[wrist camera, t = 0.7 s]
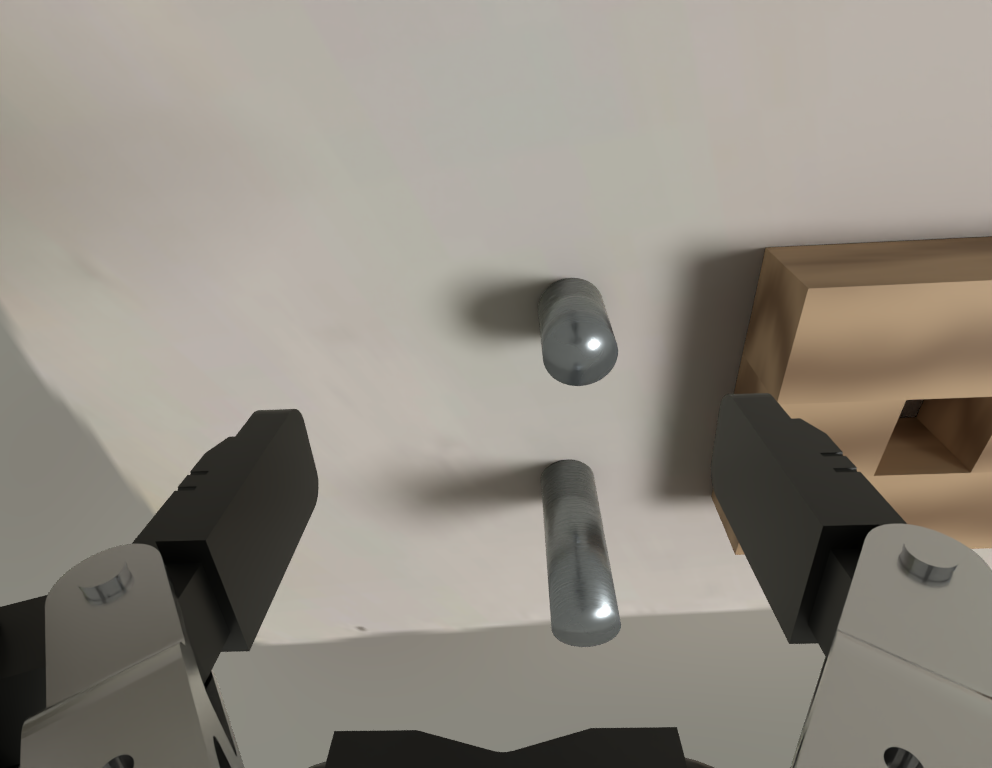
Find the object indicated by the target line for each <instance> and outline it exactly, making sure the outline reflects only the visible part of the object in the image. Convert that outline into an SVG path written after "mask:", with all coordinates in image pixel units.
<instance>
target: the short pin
mask: <svg viewBox="0 0 992 768" xmlns="http://www.w3.org/2000/svg"><path fill="white" fill-rule="evenodd" d="M538 315H539V324H540V334H541V344H542V354H543V362H544V365H545V368H546V370H547V371H548V373H549V374H550V375H551V376H552V377H553V378H554V379H556V380H557V381H559V382H561V383H564V384H567V385H572V386H583V385H589V384H592V383H594V382H597V381H599V380H600V379H602V378H603V377H605V376H606V375H607V374H608V373H609V372H610V371H611V370H612V368H613V367H614V365H615V363H616V360H617V356H618V347H617V343H616V340H615V337H614V334H613V331H612V327H611V324H610V321H609V318H608V315H607V312H606V309H605V306H604V303H603V299H602V296H601V294H600V292H599V291H598V289H597V288H596V287H595V286H594V285H593V284H591V283H590V282H588V281H586V280H583V279H578V278H567V279H562V280H560V281H557V282H555V283H553V284H552V285H551V286H549V287H548V288H547V289H546V290H545V291H544V293H543V294H542V296H541V298H540V301H539V305H538Z"/></svg>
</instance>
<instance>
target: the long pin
mask: <svg viewBox="0 0 992 768" xmlns="http://www.w3.org/2000/svg"><path fill="white" fill-rule="evenodd" d="M541 488H542V502H543V516H544V530H545V543H546V557H547V571H548V585H549V599H550V612H551V626H552V632H553V634H554V636H555V637H556V638H557V639H558V640H560V641H561V642H563V643H565V644H568V645H572V646H578V647H590V646H596V645H600V644H603V643H606V642H608V641H610V640H611V639H613V638H614V637H615V636H616V635H617V634H618V632H619V631H620V628H621V622H620V617H619V611H618V606H617V601H616V595H615V590H614V584H613V579H612V573H611V568H610V562H609V557H608V551H607V546H606V541H605V535H604V530H603V524H602V519H601V513H600V508H599V502H598V497H597V492H596V486H595V481H594V475H593V472H592V470H591V469H590V468H589V467H588V466H587V465H586V464H584V463H582V462H579V461H575V460H563V461H558V462H556V463H553V464H551V465H550V466H549V467H547V468H546V469H545V471H544V472H543V474H542V477H541Z"/></svg>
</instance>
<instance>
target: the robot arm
mask: <svg viewBox="0 0 992 768" xmlns="http://www.w3.org/2000/svg"><path fill="white" fill-rule="evenodd" d="M190 472H191V474H190V475H187V476H186V478H185V479H184V480H183V481H182V483H181V484H180V485H179V486H178V491H174V492H173V494H172V495H171V496H170V497H169V499H168V500H167V501H166V502H165V503H164V505H163V506H162V507H161V508H160V510H159V511H158V512H157V513H156V515H155V516H154V517H153V518H152V520H151V521H150V522H149V523H148V524H147V526H146V527H145V528H144V529H143V531H142V532H141V533H140V534H139V535H138V537H137V538H136V539H135V540H134V542H133V543H132V544H126V545H120V546H116V547H113V548H109V549H107V550H104V551H101V552H99V553H97V554H95V555H92V556H90V557H89V558H87V559H85V560H83V561H81V562H80V563H79V564H77V565H75V566H74V567H72V568H71V569H70V570H69V571H67V572H66V573H65V574H64V575H63V576H62V577H61V578H60V579H59V580H58V581H57V582H56V584H54V586H53V587H52V588H51V590H50V592H49V593H48V595H45V596H42V597H38V598H34V599H30V600H26V601H22V602H18V603H14V604H10V605H7V606H2V607H0V768H245V767H244V764H243V761H242V758H241V755H240V751H239V748H238V745H237V742H236V739H235V735H234V732H233V729H232V726H231V723H230V720H229V716H228V713H227V711H226V707H225V704H224V700H223V698H222V694H221V691H220V688H219V685H218V681H217V679H216V677H215V674H214V672H213V670H212V668H213V666H214V664H215V662H216V660H217V658H218V656H219V654H220V652H231V651H250V648H251V646H252V644H253V642H254V640H255V638H256V635H257V633H258V631H259V629H260V627H261V624H262V622H263V620H264V618H265V616H266V613H267V611H268V609H269V607H270V605H271V602H272V600H273V598H274V596H275V594H276V591H277V589H278V587H279V585H280V583H281V580H282V578H283V576H284V574H285V572H286V569H287V567H288V565H289V563H290V561H291V558H292V556H293V554H294V552H295V550H296V547H297V545H298V543H299V541H300V539H301V536H302V534H303V532H304V530H305V528H306V525H307V523H308V521H309V519H310V517H311V514H312V512H313V510H314V508H315V505H316V502H317V497H318V475H317V471H316V467H315V463H314V459H313V455H312V451H311V447H310V443H309V439H308V435H307V431H306V427H305V423H304V420H303V417H302V415H301V413H300V412H299V411H298V410H297V409H283V410H258V411H256V412H254V413H253V414H252V416H251V417H250V418H249V419H248V421H247V422H246V423H245V425H244V426H243V427H242V429H241V430H240V431H239V432H238V434H237V435H236V436H235V437H228V438H227V439H225V440H224V441H222V442H221V443H219V444H218V445H216V446H215V447H214V448H212V449H211V450H209V451H208V452H206V453H205V454H204V455H203V457H202V458H201V459H200V460H199V462H198V463H197V464H196V465H195V467H194V468H193V469H192V470H191V471H190ZM711 478H712V485H713V489H714V492H715V495H716V498H717V500H718V502H719V504H720V506H721V508H722V510H723V512H724V514H725V516H726V518H727V520H728V522H729V524H730V526H731V528H732V530H733V532H734V534H735V536H736V538H737V540H738V542H739V544H740V546H741V548H742V550H743V552H744V554H745V556H746V558H747V560H748V562H749V564H750V566H751V568H752V570H753V572H754V574H755V576H756V578H757V580H758V582H759V584H760V586H761V588H762V590H763V592H764V594H765V596H766V598H767V600H768V602H769V604H770V606H771V608H772V610H773V612H774V614H775V616H776V618H777V620H778V622H779V624H780V626H781V628H782V630H783V632H784V634H785V636H786V638H787V640H788V642H789V644H806V643H818V644H819V645H820V647H821V649H822V651H823V653H824V654H825V659H824V662H823V665H822V668H821V671H820V675H819V678H818V681H817V684H816V687H815V691H814V693H813V697H812V700H811V703H810V706H809V710H808V713H807V716H806V719H805V722H804V725H803V728H802V732H801V735H800V738H799V741H798V744H797V748H796V751H795V754H794V757H793V761H792V763H791V767H790V768H992V570H991V569H990V567H989V566H988V564H987V563H986V562H985V561H984V560H983V559H982V558H981V557H980V556H979V555H978V554H976V553H975V552H974V551H973V550H971V549H970V548H968V547H967V546H966V545H964V544H962V543H961V542H959V541H957V540H955V539H953V538H951V537H949V536H947V535H945V534H943V533H940V532H937V531H934V530H932V529H928V528H925V527H921V526H916V525H910V524H907V523H906V522H905V521H904V520H903V519H902V517H901V516H900V515H899V514H898V513H897V512H896V511H895V510H894V509H893V507H892V506H891V505H890V504H889V503H888V502H887V501H886V500H885V498H884V497H883V496H882V495H881V494H880V493H879V492H878V491H877V490H876V488H875V487H874V486H873V485H872V484H871V483H870V482H869V481H868V480H867V478H866V477H865V476H864V475H863V474H862V473H861V472H857V467H856V466H855V465H854V464H853V463H852V462H851V461H850V460H849V458H848V457H847V456H843V452H842V451H841V449H840V448H839V447H838V446H837V445H836V444H835V443H834V442H833V441H832V439H831V438H830V437H829V436H828V435H827V434H826V433H824V432H823V431H821V430H819V429H818V428H816V427H814V426H813V425H811V424H809V423H808V422H806V421H804V420H802V419H801V418H794V419H791V418H790V416H789V415H788V414H787V413H786V412H785V410H784V409H783V408H782V407H781V406H780V404H779V403H778V402H777V401H776V400H775V398H774V397H773V396H772V395H771V394H769V393H751V394H727V395H725V396H724V397H723V399H722V401H721V404H720V410H719V416H718V423H717V429H716V436H715V442H714V449H713V455H712V462H711ZM309 768H714V767H712V766H709V765H706V764H704V763H701V762H699V761H696V760H692V759H688V758H685V757H684V753H683V750H682V746H681V742H680V738H679V734H678V730H677V727H662V728H590V729H587V730H583V731H580V732H577V733H573V734H570V735H566V736H563V737H559V738H556V739H553V740H549V741H546V742H542V743H539V744H536V745H532V746H529V747H525V748H521V749H518V750H515V751H510V752H495V751H491V750H487V749H484V748H480V747H476V746H473V745H469V744H465V743H462V742H458V741H454V740H451V739H447V738H443V737H440V736H436V735H432V734H428V733H425V732H421V731H417V730H407V731H406V730H404V731H403V730H402V731H334V735H333V739H332V742H331V746H330V750H329V754H328V758H327V761H326V762H323V763H320V764H316V765H314V766H311V767H309Z"/></svg>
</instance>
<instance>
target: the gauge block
mask: <svg viewBox="0 0 992 768" xmlns="http://www.w3.org/2000/svg"><path fill="white" fill-rule="evenodd" d="M751 393H769V394H771V395H772V396H773V397H774V398H775V400H776V401H777V402H778V403H779V404H780V406H781V407H782V408H783V409H784V410H785V412H786V413H787V414H788V415H789V416H790V418H791V419H794V418H801V419H802V420H804V421H806V422H808V423H809V424H811V425H813V426H814V427H816V428H818V429H819V430H821V431H823V432H824V433H826V434H827V435H828V436H829V437H830V438H831V439H832V441H833V442H834V443H835V444H836V445H837V446H838V447H839V448H840V449H841V451H842V452H843V456H847V457H848V458H849V460H850V461H851V462H852V463H853V464H854V465H855V466H856V467H857V472H861V473H862V474H863V475H864V476H865V477H866V478H867V480H868V481H869V482H870V483H871V484H872V485H873V486H874V487H875V488H876V490H877V491H878V492H879V493H880V494H881V495H882V496H883V497H884V498H885V500H886V501H887V502H888V503H889V504H890V505H891V506H892V507H893V509H894V510H895V511H896V512H897V513H898V514H899V515H900V516H901V517H902V519H903V520H904V521H905V522H906V523H907V524H910V525H916V526H921V527H925V528H928V529H932V530H934V531H937V532H940V533H943V534H945V535H947V536H949V537H951V538H953V539H955V540H957V541H959V542H961V543H962V544H964V545H966V546H967V547H968V548H970V549H979V548H992V237H975V238H954V239H934V240H913V241H892V242H872V243H851V244H831V245H810V246H790V247H769V248H766V249H765V253H764V258H763V262H762V267H761V271H760V276H759V281H758V285H757V290H756V294H755V299H754V303H753V308H752V313H751V317H750V322H749V326H748V331H747V335H746V340H745V345H744V349H743V354H742V358H741V363H740V367H739V372H738V377H737V381H736V386H735V390H734V394H751ZM916 399H924V401H923V404H922V406H921V408H920V410H919V412H918V415H917V417H911V418H899V416H900V414H901V411H902V409H903V407H904V404H905V402H906V400H916ZM711 497H712V499H713V502H714V504H715V507H716V509H717V511H718V514H719V516H720V519H721V521H722V524H723V526H724V528H725V531H726V533H727V536H728V538H729V540H730V543H731V545H732V548H733V550H734V553H735V555H744V552H743V550H742V548H741V546H740V544H739V542H738V540H737V538H736V536H735V534H734V532H733V530H732V528H731V526H730V524H729V522H728V520H727V518H726V516H725V514H724V512H723V510H722V508H721V506H720V504H719V502H718V500H717V498H716V495H715V492H714V489H713V491H712V495H711Z"/></svg>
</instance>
